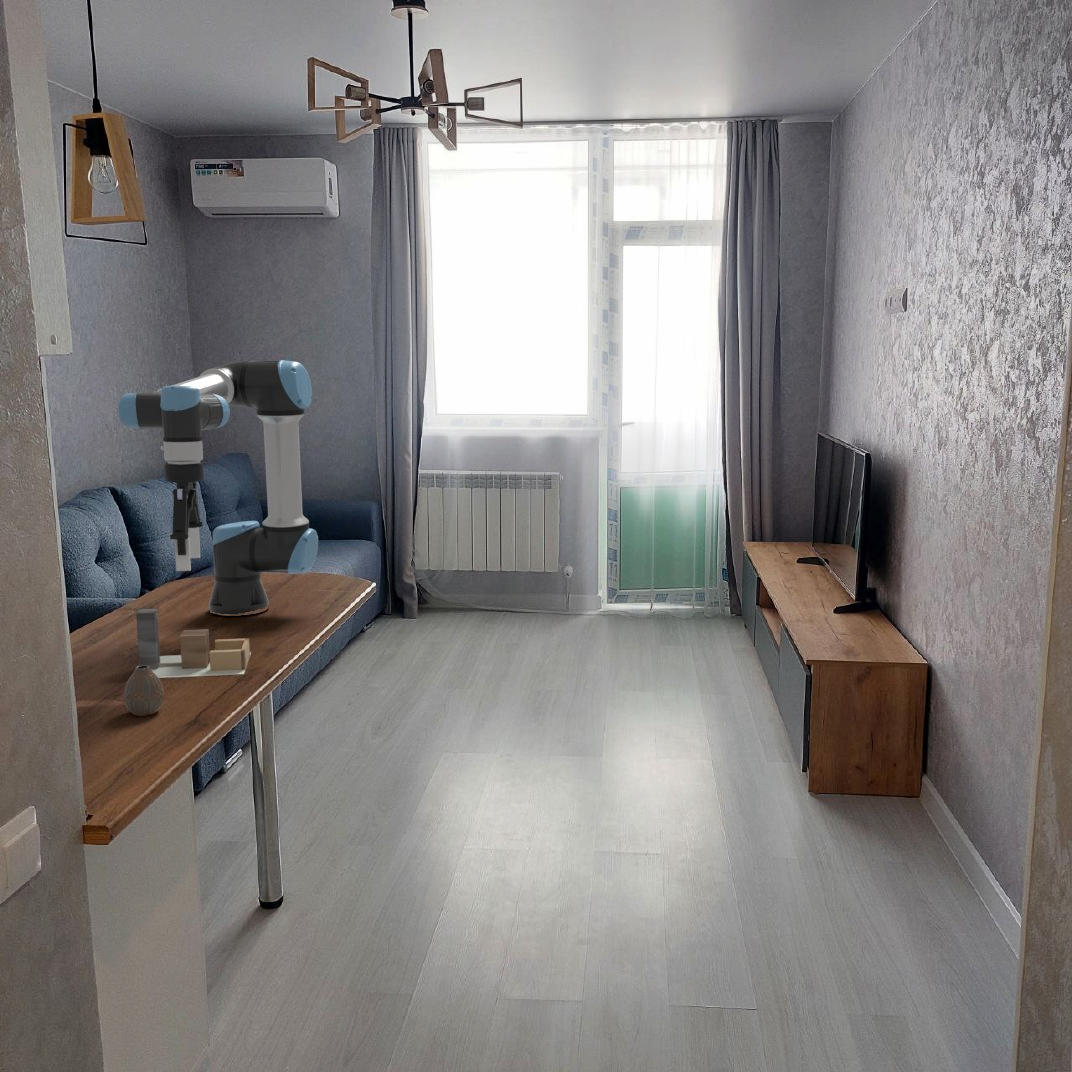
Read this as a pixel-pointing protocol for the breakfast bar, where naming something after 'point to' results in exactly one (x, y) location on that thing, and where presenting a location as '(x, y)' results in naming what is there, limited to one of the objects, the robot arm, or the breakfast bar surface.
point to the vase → (143, 692)
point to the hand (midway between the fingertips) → (188, 564)
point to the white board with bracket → (212, 661)
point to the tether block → (192, 641)
